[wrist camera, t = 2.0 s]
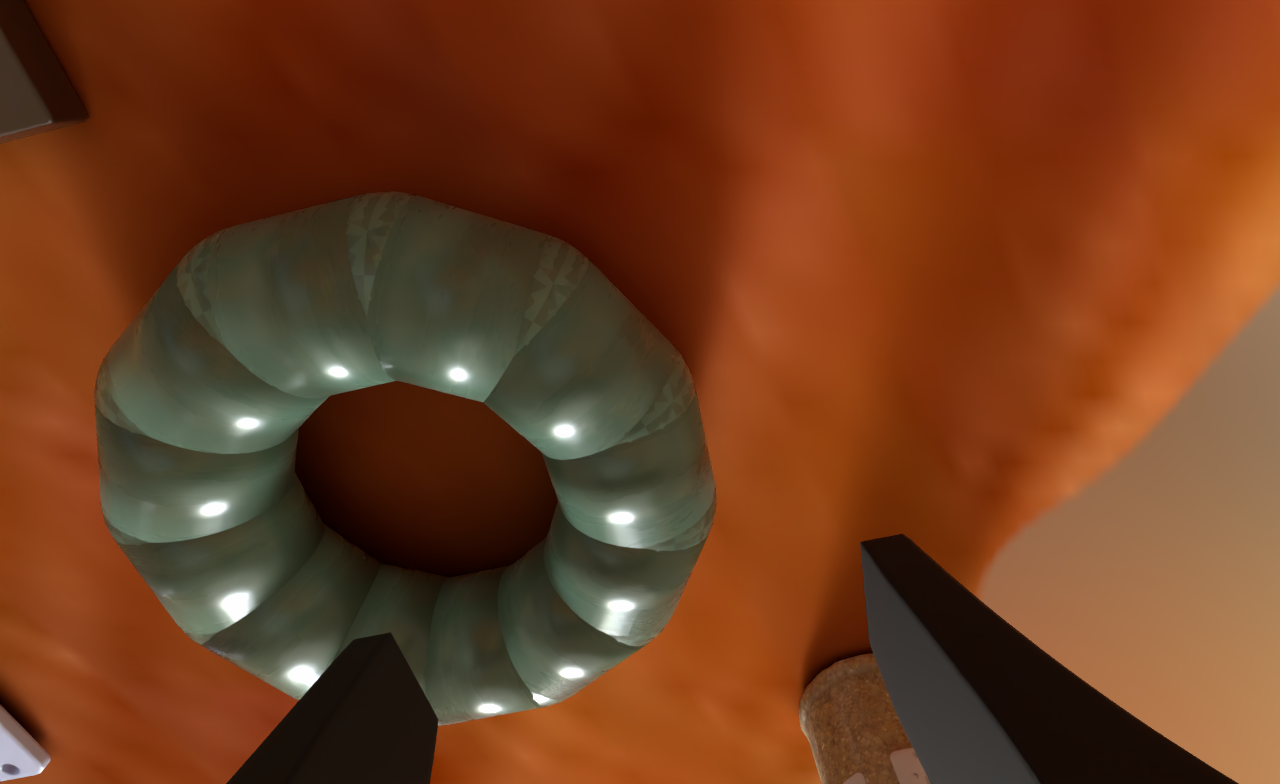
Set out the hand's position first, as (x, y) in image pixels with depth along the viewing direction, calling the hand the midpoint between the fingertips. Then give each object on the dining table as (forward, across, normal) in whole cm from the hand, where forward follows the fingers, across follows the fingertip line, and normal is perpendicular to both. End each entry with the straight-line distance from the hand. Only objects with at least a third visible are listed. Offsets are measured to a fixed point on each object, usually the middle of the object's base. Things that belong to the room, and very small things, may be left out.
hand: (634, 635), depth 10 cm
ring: (+5, +5, 0) cm, 7 cm away
